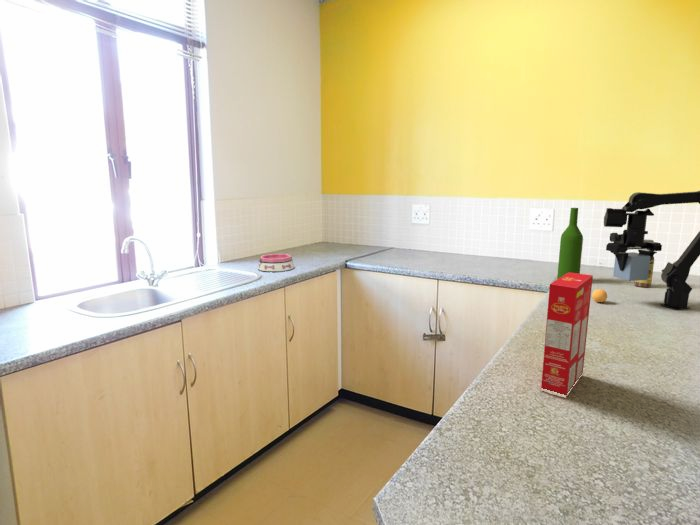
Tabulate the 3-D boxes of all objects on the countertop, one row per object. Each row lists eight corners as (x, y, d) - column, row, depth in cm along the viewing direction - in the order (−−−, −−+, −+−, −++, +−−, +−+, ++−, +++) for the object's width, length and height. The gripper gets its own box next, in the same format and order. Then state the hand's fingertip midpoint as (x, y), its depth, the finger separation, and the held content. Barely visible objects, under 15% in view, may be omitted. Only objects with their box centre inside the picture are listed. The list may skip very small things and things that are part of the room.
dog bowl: (255, 266, 240) (255, 254, 239) (290, 264, 246) (290, 251, 244) (260, 274, 223) (259, 260, 222) (297, 271, 228) (297, 258, 227)
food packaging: (559, 369, 114) (568, 272, 109) (582, 375, 111) (592, 275, 106) (540, 391, 103) (549, 284, 98) (565, 398, 100) (576, 288, 95)
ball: (609, 303, 170) (611, 290, 169) (598, 304, 169) (599, 291, 168) (599, 300, 175) (600, 287, 174) (588, 300, 174) (589, 288, 173)
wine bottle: (582, 283, 201) (590, 208, 194) (562, 283, 201) (568, 208, 194) (573, 278, 209) (580, 207, 203) (553, 278, 210) (559, 207, 203)
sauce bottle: (650, 288, 191) (656, 241, 187) (632, 286, 195) (638, 240, 191) (651, 285, 196) (657, 239, 192) (634, 283, 200) (640, 238, 196)
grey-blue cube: (647, 279, 166) (650, 256, 164) (629, 280, 164) (631, 256, 163) (630, 275, 173) (633, 252, 171) (613, 276, 172) (615, 253, 170)
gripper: (640, 224, 174) (635, 264, 178) (597, 225, 171) (593, 266, 174) (665, 228, 164) (659, 270, 167) (620, 229, 160) (615, 273, 163)
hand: (631, 270), depth 168 cm, fingers closed on grey-blue cube, 8 cm apart
